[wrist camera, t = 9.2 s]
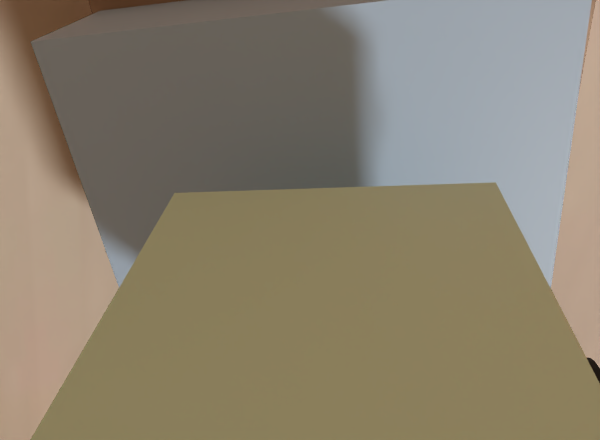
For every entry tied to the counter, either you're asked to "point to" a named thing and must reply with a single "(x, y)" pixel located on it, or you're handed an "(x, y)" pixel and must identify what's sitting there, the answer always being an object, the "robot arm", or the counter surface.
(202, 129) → the slate top block
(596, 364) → the robot arm
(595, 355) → the counter surface
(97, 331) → the sage block
